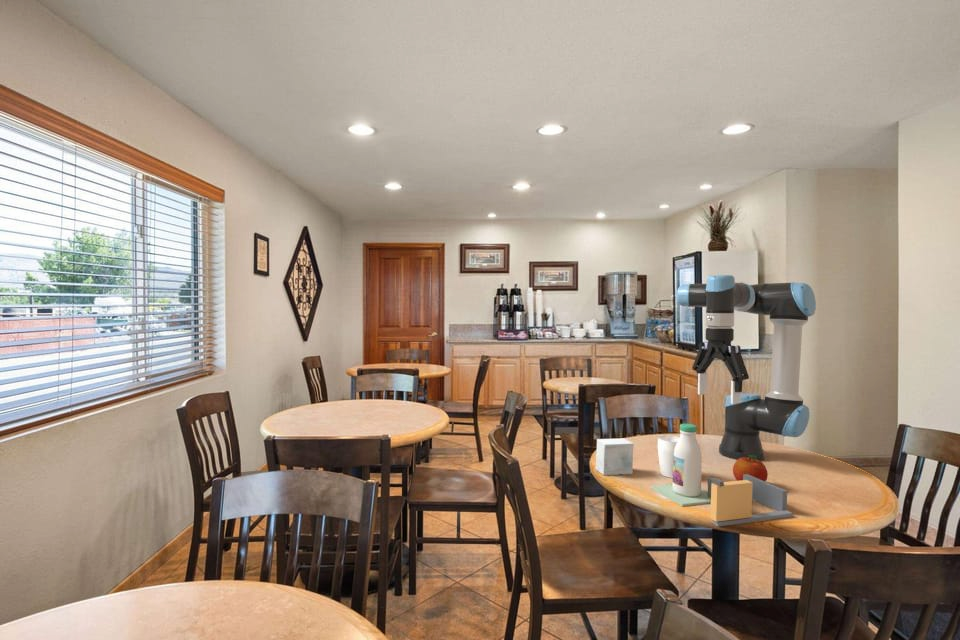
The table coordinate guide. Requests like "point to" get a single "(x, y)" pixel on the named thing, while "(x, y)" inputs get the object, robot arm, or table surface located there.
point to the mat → (680, 499)
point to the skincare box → (614, 456)
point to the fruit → (749, 468)
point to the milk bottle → (687, 463)
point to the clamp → (763, 495)
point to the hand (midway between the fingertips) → (718, 398)
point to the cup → (666, 454)
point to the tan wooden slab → (730, 500)
